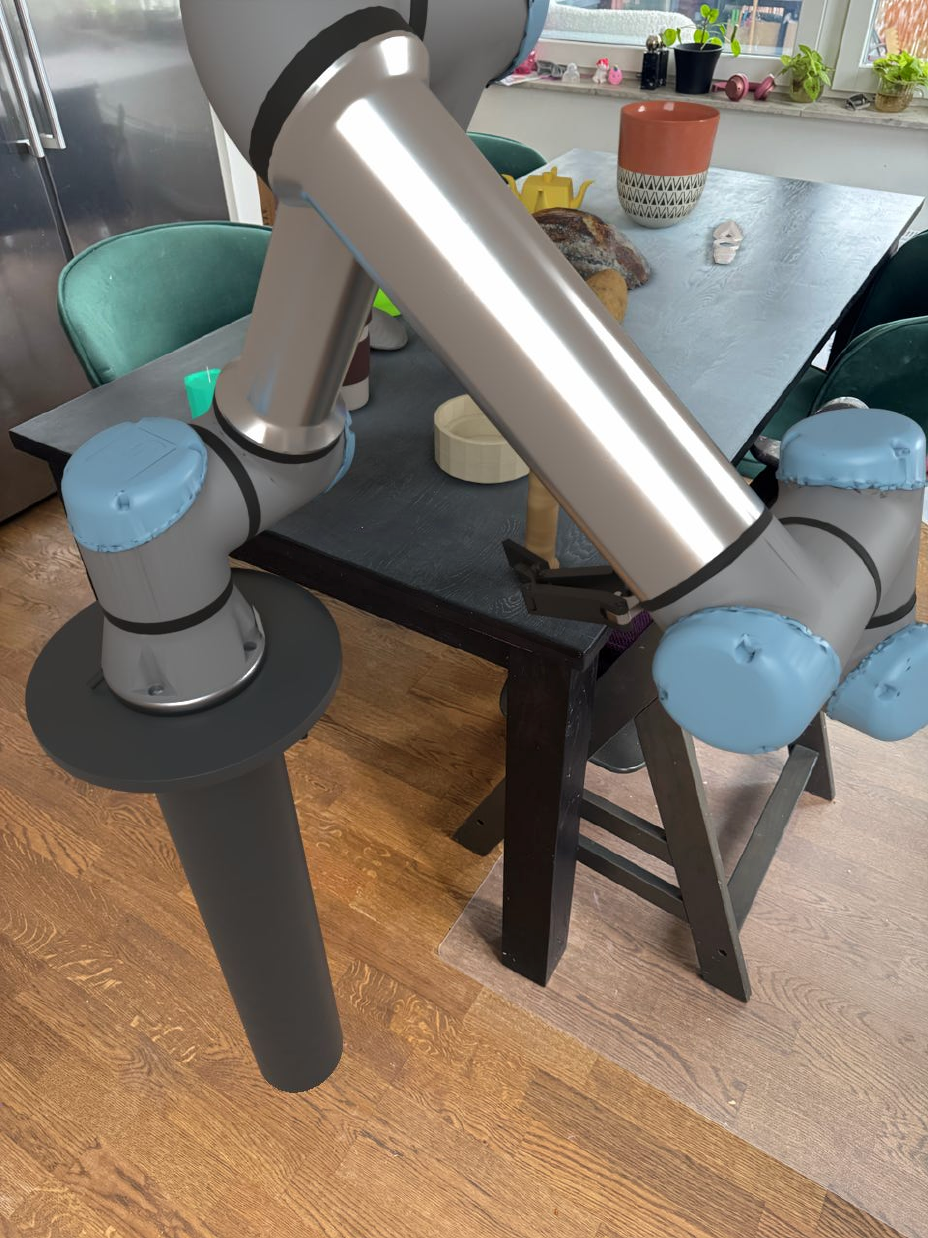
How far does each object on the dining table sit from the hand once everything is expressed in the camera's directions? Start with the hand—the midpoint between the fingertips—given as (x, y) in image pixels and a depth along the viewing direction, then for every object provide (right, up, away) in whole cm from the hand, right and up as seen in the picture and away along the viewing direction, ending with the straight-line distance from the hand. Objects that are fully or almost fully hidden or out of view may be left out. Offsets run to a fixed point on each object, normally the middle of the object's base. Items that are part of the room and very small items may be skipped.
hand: (568, 516), depth 79 cm
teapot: (+8, +76, +106) cm, 131 cm away
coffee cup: (-27, +21, +43) cm, 55 cm away
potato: (+11, +36, +60) cm, 71 cm away
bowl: (-7, +11, +31) cm, 34 cm away
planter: (+31, +75, +105) cm, 132 cm away
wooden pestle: (-2, -5, +13) cm, 14 cm away
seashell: (-24, +35, +59) cm, 72 cm away
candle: (-41, +12, +32) cm, 53 cm away
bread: (+9, +57, +84) cm, 102 cm away
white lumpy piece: (+44, +67, +96) cm, 125 cm away
